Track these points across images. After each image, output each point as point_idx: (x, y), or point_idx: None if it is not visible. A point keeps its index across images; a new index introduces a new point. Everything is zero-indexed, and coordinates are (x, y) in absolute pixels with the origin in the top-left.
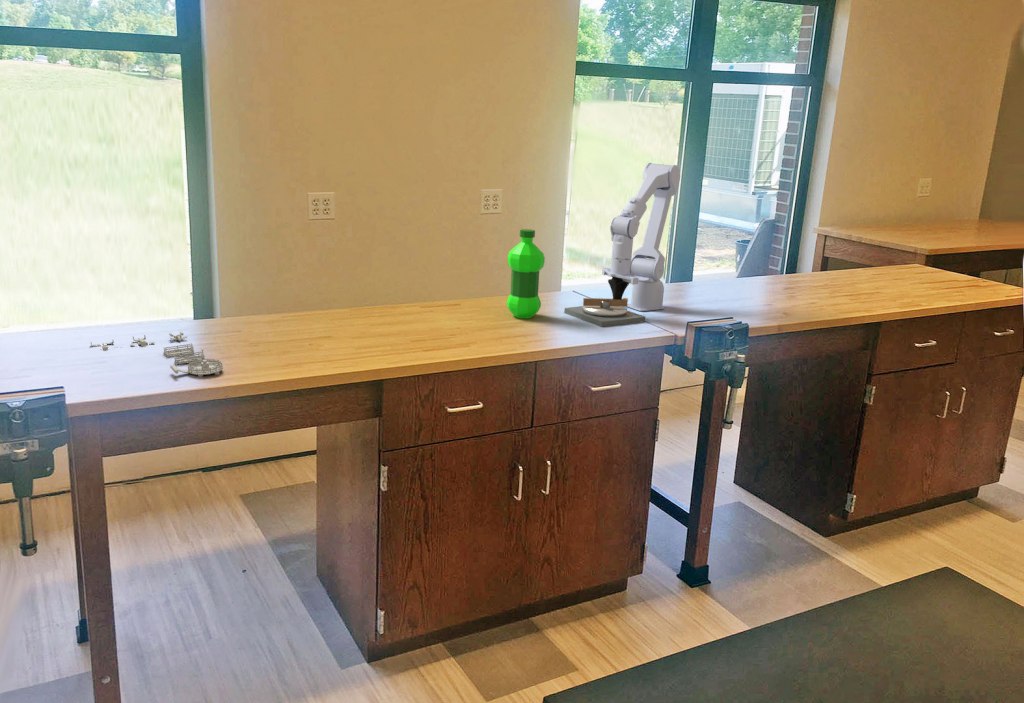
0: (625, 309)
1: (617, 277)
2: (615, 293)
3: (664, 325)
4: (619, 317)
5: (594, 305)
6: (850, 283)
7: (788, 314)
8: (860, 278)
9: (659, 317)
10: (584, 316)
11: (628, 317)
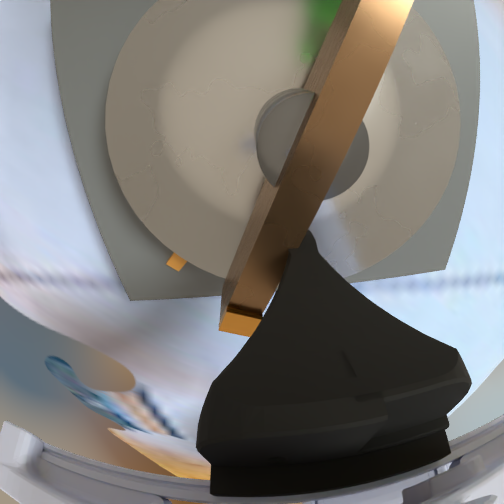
0: (184, 248)
1: (358, 486)
2: (279, 287)
3: (83, 312)
4: None
5: (328, 33)
6: None
7: (192, 465)
8: None
9: (206, 357)
10: None
11: (113, 209)
